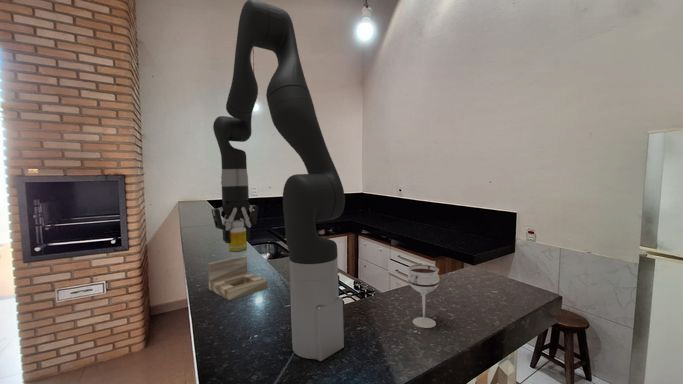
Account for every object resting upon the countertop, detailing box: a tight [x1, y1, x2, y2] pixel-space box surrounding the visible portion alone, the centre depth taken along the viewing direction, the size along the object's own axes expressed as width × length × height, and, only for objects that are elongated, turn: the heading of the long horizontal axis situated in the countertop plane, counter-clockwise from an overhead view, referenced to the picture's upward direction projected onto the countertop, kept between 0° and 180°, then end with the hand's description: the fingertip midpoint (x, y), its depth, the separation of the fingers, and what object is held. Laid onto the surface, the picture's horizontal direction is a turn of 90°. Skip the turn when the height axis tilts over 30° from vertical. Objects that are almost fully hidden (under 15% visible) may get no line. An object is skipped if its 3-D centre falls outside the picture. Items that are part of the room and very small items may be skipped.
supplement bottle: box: [227, 219, 248, 255], centre depth 89 cm, size 5×5×10 cm
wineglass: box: [407, 264, 440, 329], centre depth 65 cm, size 7×7×12 cm
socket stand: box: [207, 255, 268, 301], centre depth 90 cm, size 14×12×8 cm
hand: (237, 240), depth 89 cm, fingers closed on supplement bottle, 5 cm apart
